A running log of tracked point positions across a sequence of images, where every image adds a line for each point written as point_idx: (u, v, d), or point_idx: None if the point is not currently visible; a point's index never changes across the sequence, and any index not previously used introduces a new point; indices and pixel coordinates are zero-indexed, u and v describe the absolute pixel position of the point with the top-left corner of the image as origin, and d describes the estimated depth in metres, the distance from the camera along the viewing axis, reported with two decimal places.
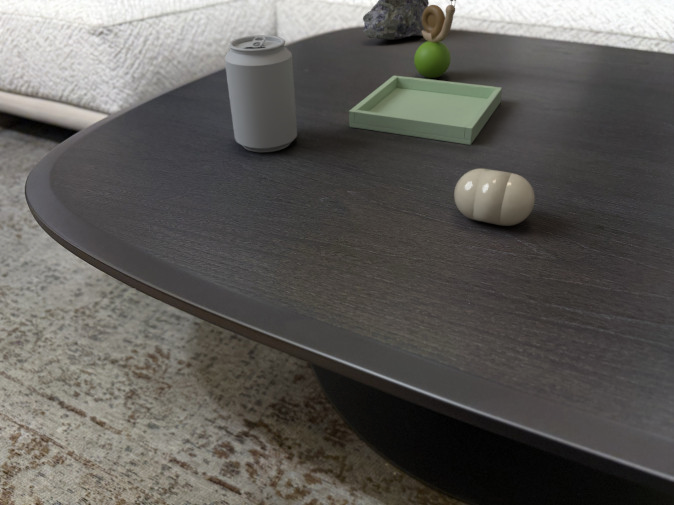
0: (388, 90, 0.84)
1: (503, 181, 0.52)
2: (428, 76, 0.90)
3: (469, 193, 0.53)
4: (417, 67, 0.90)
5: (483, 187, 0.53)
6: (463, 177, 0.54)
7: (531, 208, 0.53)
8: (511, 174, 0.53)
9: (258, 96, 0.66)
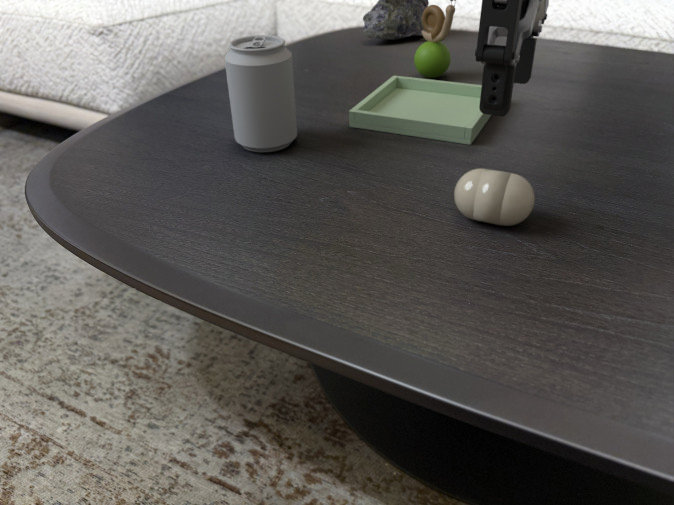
0: (388, 90, 0.84)
1: (503, 181, 0.52)
2: (428, 76, 0.90)
3: (469, 193, 0.53)
4: (417, 67, 0.90)
5: (483, 187, 0.53)
6: (463, 177, 0.54)
7: (531, 208, 0.53)
8: (511, 174, 0.53)
9: (258, 95, 0.66)
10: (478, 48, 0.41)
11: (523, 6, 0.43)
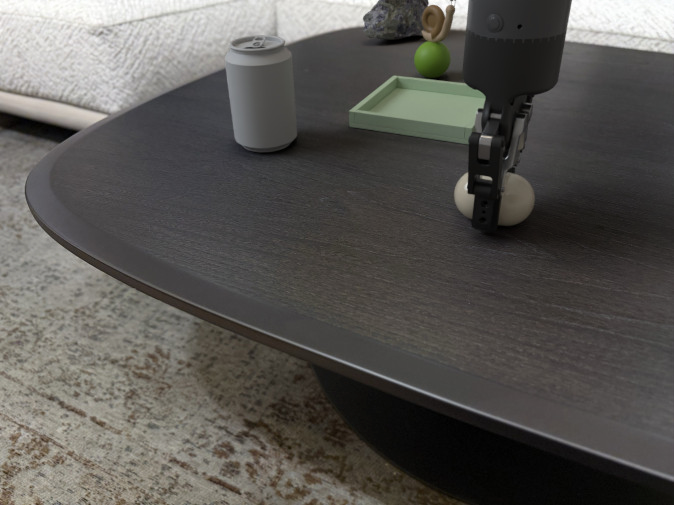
0: (388, 90, 0.84)
1: None
2: (428, 76, 0.90)
3: None
4: (417, 67, 0.90)
5: None
6: (463, 177, 0.54)
7: (531, 208, 0.53)
8: (511, 174, 0.53)
9: (258, 95, 0.66)
10: (469, 187, 0.49)
11: (505, 142, 0.48)
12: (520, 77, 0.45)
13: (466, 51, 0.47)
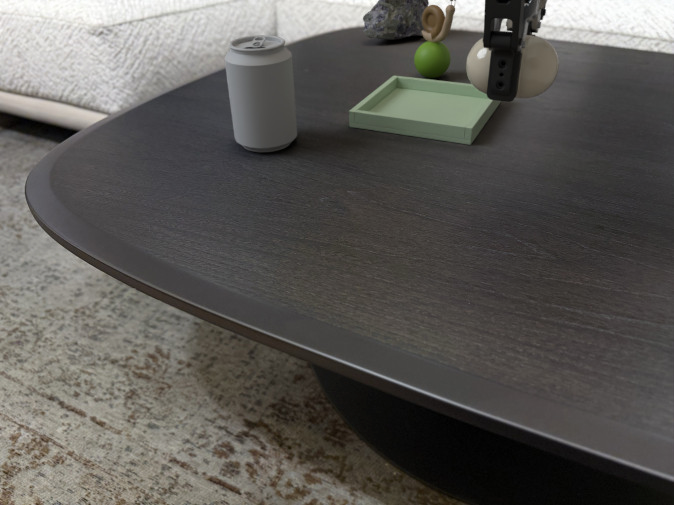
0: (388, 90, 0.84)
1: None
2: (428, 76, 0.90)
3: (483, 57, 0.47)
4: (417, 67, 0.90)
5: None
6: (477, 43, 0.48)
7: (555, 73, 0.46)
8: (531, 35, 0.47)
9: (258, 95, 0.66)
10: (485, 38, 0.43)
11: None
12: None
13: None
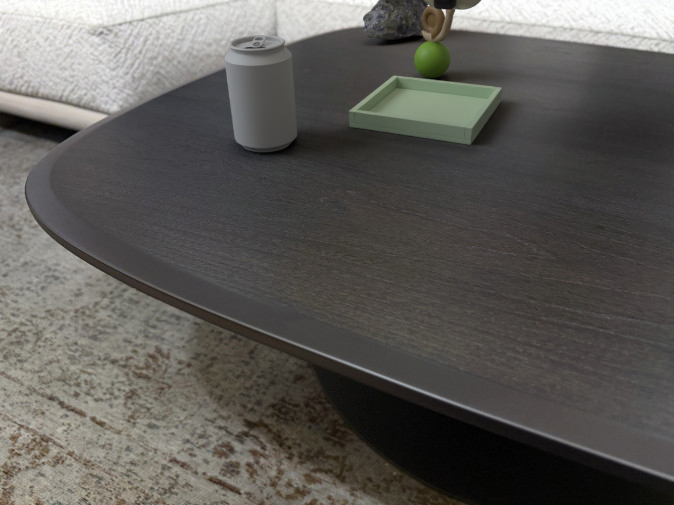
0: (388, 90, 0.84)
1: None
2: (428, 76, 0.90)
3: None
4: (417, 67, 0.90)
5: None
6: None
7: None
8: None
9: (258, 95, 0.66)
10: None
11: None
12: None
13: None
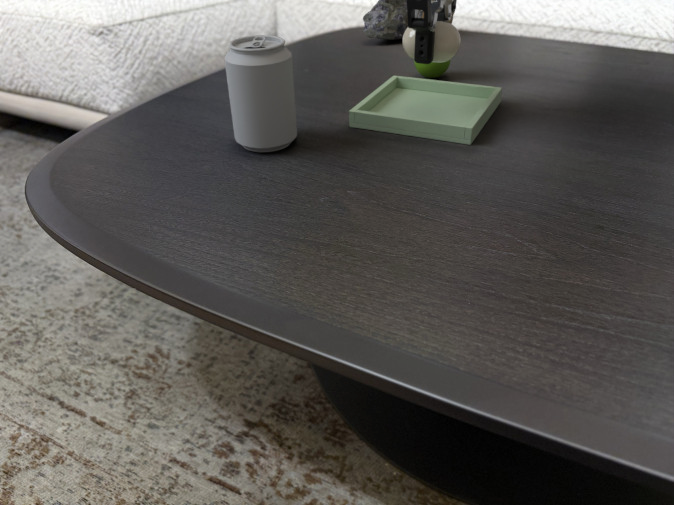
0: (388, 90, 0.84)
1: (436, 25, 0.72)
2: (428, 76, 0.90)
3: (412, 35, 0.73)
4: (417, 67, 0.90)
5: None
6: None
7: (457, 46, 0.72)
8: (442, 21, 0.72)
9: (258, 95, 0.66)
10: (408, 22, 0.68)
11: None
12: None
13: None
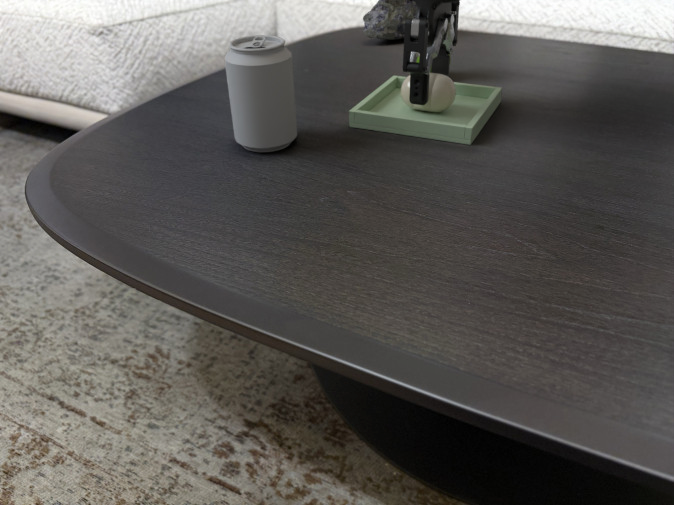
0: (388, 90, 0.84)
1: (432, 78, 0.75)
2: None
3: (409, 87, 0.76)
4: None
5: None
6: (406, 78, 0.77)
7: (452, 97, 0.76)
8: (439, 74, 0.76)
9: (258, 95, 0.66)
10: (403, 64, 0.70)
11: (432, 38, 0.71)
12: None
13: None
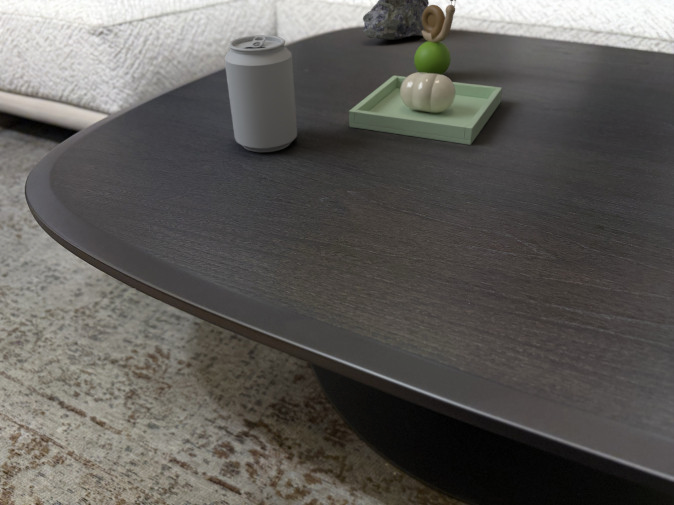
0: (388, 90, 0.84)
1: (431, 80, 0.75)
2: None
3: (408, 90, 0.76)
4: (417, 67, 0.90)
5: (418, 85, 0.75)
6: (405, 79, 0.77)
7: (452, 98, 0.76)
8: (438, 75, 0.75)
9: (258, 95, 0.66)
10: None
11: None
12: None
13: None
